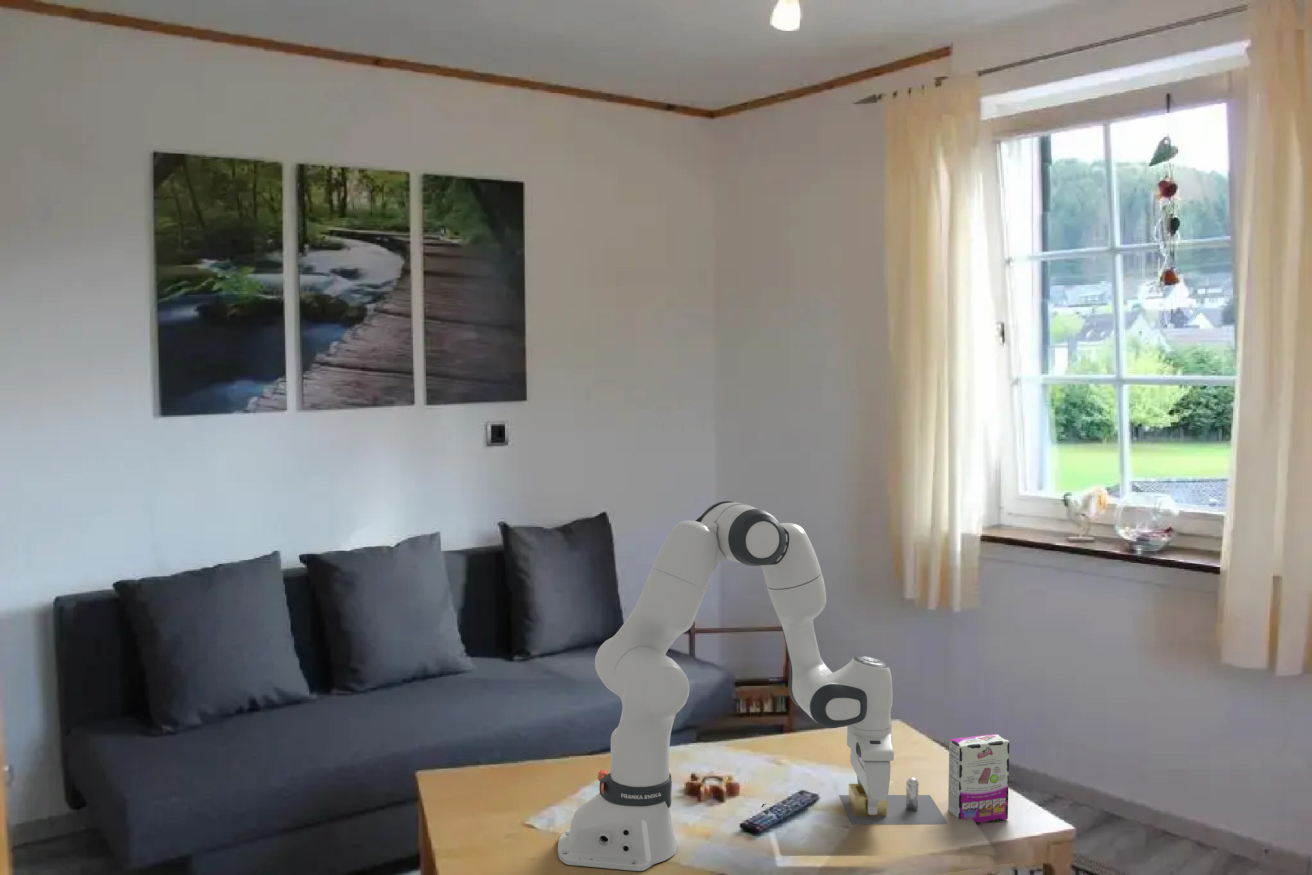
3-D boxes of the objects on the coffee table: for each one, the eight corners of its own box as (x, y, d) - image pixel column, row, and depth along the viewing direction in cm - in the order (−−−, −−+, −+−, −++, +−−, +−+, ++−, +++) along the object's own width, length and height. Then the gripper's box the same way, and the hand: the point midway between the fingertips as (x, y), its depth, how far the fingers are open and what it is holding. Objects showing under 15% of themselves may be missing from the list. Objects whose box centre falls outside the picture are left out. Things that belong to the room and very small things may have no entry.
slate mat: (851, 831, 225) (851, 824, 225) (838, 801, 239) (838, 795, 239) (948, 831, 225) (948, 823, 225) (929, 801, 239) (929, 794, 239)
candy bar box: (994, 810, 235) (997, 732, 234) (1008, 820, 231) (1011, 741, 229) (945, 816, 232) (948, 737, 231) (958, 826, 228) (961, 746, 226)
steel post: (907, 811, 231) (908, 780, 230) (904, 806, 233) (905, 775, 233) (919, 811, 231) (920, 780, 230) (916, 806, 233) (917, 775, 233)
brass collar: (854, 815, 229) (855, 796, 228) (848, 802, 235) (849, 783, 235) (886, 815, 229) (887, 796, 228) (879, 802, 235) (880, 783, 235)
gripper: (843, 719, 241) (842, 783, 242) (863, 755, 220) (861, 825, 222) (873, 719, 241) (872, 783, 242) (896, 755, 220) (894, 825, 222)
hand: (867, 803), depth 232 cm, fingers open, 8 cm apart
